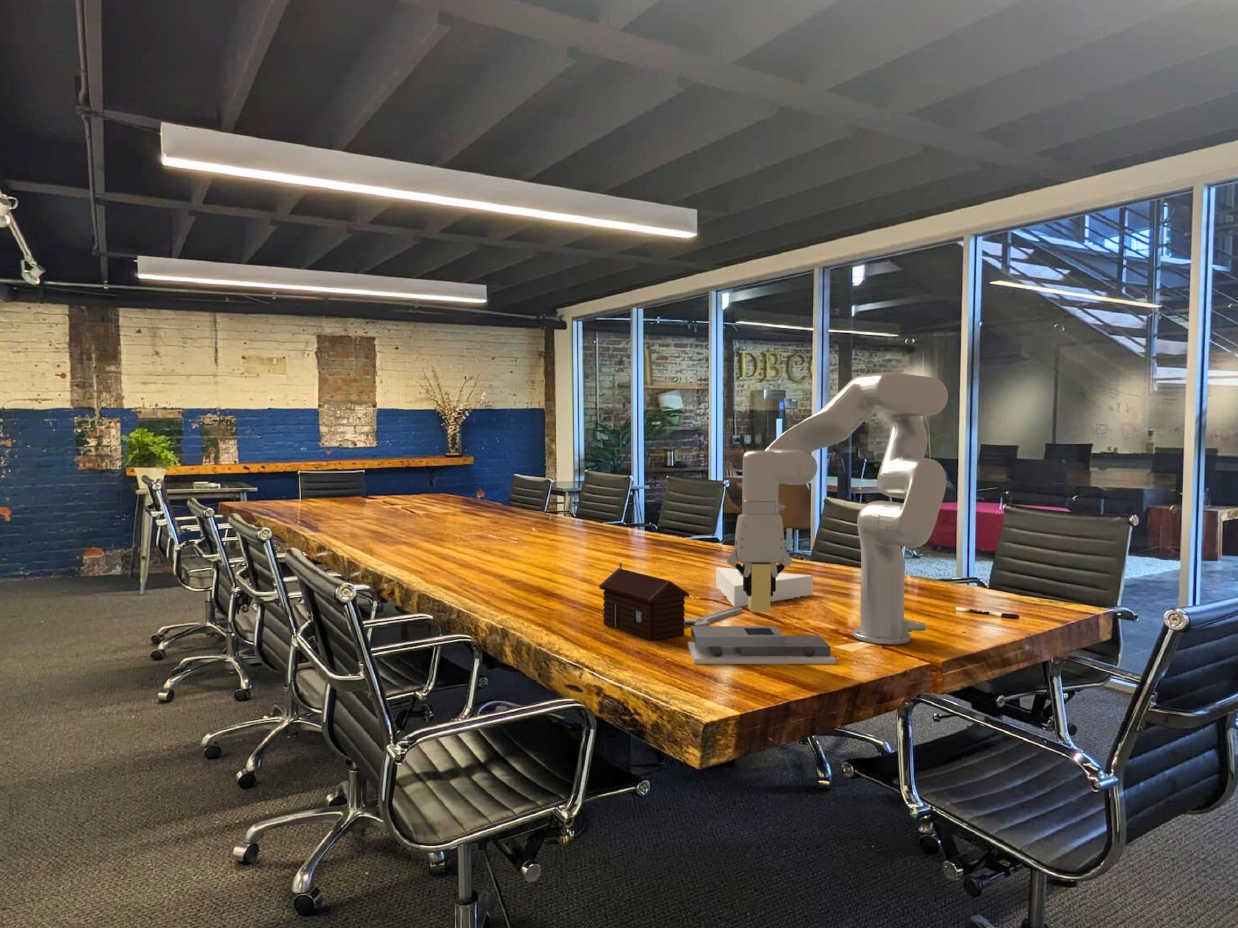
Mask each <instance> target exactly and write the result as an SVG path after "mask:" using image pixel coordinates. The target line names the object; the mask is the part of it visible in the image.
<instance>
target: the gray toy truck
mask: <svg viewBox="0 0 1238 928" xmlns="http://www.w3.org/2000/svg"><path fill="white" fill-rule="evenodd" d="M690 627H691V628H690V636H691V638H692V642H694V644H695V646H696V647H710V648H711V650H712V653H713V655H714V656H716V657H719V656H721V655H722V649H721V647H736V648H737V650H738V651H739V653H740V655H741V656H808V657H811V656H831V655H832V654H831V648H832V647H831V646H830V645H829V643H827V641H826V640H824V638H823V637H822V636H820V635H817V634H811V635H809V634H805V635H804V634H801V635H800V634H796V635H795V634H791V635H790V634H783V633H782V632H781V631H780V629H779V628H778V627H777V626H776V625H775V626H774V625H772V626H771V625H770V626H769V625H766V626H765V625H762V626H761V625H758V626H755V625H750V626H748V625H744V626H743V625H729V626H728V625H724V626H723V625H716V626H715V625H709V626H690Z"/></svg>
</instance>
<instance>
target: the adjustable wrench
mask: <svg viewBox="0 0 1238 928" xmlns="http://www.w3.org/2000/svg"><path fill="white" fill-rule="evenodd" d="M741 613H743V608H742V606H738V607H734V606H733V607H730V608H727V609H724V610H720V611H717V612H714V613H711V614H708V615H705V616H701V617H694V618H686V619H685V618H684V619H685V622H684V625H685V627H691V626H710V624H711V623H714V622H716V621H720V620H723V619H725V618H729V617H732V616H735V615H738V614H741Z"/></svg>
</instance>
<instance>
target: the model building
mask: <svg viewBox="0 0 1238 928" xmlns="http://www.w3.org/2000/svg"><path fill="white" fill-rule="evenodd" d="M622 563H623V562H619V568H617V569H616V570H615V571H614V572H612V573H611V574H610V575H609V576H608V577H607V578H606V579H604V580H603V581H602V582H601V583H600V584H599V589H600V590H603V599H602V601H604V602H603V604H602V605H603V612H604V613H603V619H602V622H603V624H605V625H606V626H607V625H608V626H610V627H613V628H617V629H619V630H621V631H624V632H626V633H628V634H631V635H634V636H637V637H639V638H640V637H641V638H643V639H645V640H648V641H650V642H651V641H657V640H663V639H664V640H665V639H668V638H673V637H675V638H676V637H680V636H684V635H685V632H686V631H685V630H684V629H685V627H686V626H685V625H684V622H685V616H686V614H685V610H686V609H685V604H686V602H685V601H686V600H685V598H686V597H687V598H690V593H689V592H687V591H686V590H684V589H683V588H682V587H680V586H678V585H677V584H676V583H674V582H672V581H670V580H668V579H663V578H659V577H656V576H655V577H654V576H651V575H647V574H643V573H639V572H635V571H631V570H627V569H623V568H622V567H623V564H622Z"/></svg>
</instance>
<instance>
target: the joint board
mask: <svg viewBox="0 0 1238 928" xmlns="http://www.w3.org/2000/svg"><path fill="white" fill-rule="evenodd" d="M687 648H688V650H689V653H690V657H691V659H692V662H693V665H726V664H727V665H734V664H735V665H768V664H769V665H775V664H776V665H791V664H793V665H804V664H805V665H812V664H813V665H817V664H818V665H825V664H826V665H829V664H830V665H833V664H834V665H836V664H837V661H836V660H837V659H836V658H835V656H833V654H831V656H811V657H808V656H741V655H740V653H739V651H738V650H737V648H736V647H721V649H722V655H721V656H719V657H716V656H714V655H713V653H712V650H711V648H710V647H696V646H695V644H694V641H688V642H687Z"/></svg>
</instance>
